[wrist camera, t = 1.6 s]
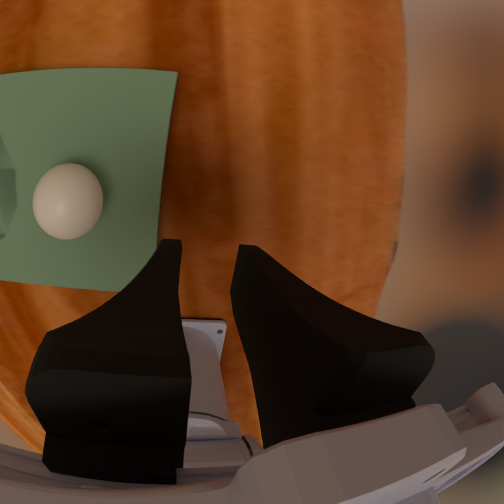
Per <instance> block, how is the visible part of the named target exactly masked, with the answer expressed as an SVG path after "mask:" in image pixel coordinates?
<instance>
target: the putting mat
mask: <svg viewBox="0 0 504 504" xmlns="http://www.w3.org/2000/svg"><path fill="white" fill-rule="evenodd" d="M177 79H178V72H172V71H161V70H148V69H129V68H67V69H49V70H37V71H26V72H17V73H10V74H2V75H0V280H5V281H13V282H21V283H29V284H38V285H48V286H57V287H67V288H78V289H89V290H100V291H113V292H120V291H121V290H122V289H123V288H124V287H125V286H127V285H128V284H129V283H130V282H131V281H132V280H133V278H134V277H135V276H136V275H137V274H138V273H139V272H140V271H141V269H142V268H143V267H144V266H145V265H146V263H147V262H148V260H149V259H150V258H151V256H152V255H153V253H154V252H155V250H156V249H157V239H158V225H159V213H160V201H161V191H162V182H163V173H164V164H165V156H166V148H167V141H168V134H169V127H170V120H171V114H172V108H173V101H174V96H175V90H176V84H177ZM65 163H75V164H79V165H82V166H84V167H86V168H87V169H89V170H90V171H91V172H92V173H93V174H94V175H95V176H96V177H97V179H98V181H99V183H100V185H101V188H102V192H103V207H102V211H101V214H100V217H99V219H98V221H97V222H96V224H95V225H94V226H93V227H92V229H91V230H89V231H88V232H87V233H86V234H84V235H82V236H80V237H78V238H75V239H69V240H63V239H58V238H55V237H52V236H51V235H49V234H47V233H46V232H45V231H44V230H43V229H42V228H41V227H40V225H39V224H38V222H37V220H36V218H35V216H34V212H33V195H34V191H35V188H36V185H37V184H38V182H39V180H40V179H41V177H42V176H43V175H44V174H45V173H46V172H47V171H48V170H50V169H51V168H53V167H55V166H57V165H60V164H65Z"/></svg>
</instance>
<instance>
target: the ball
mask: <svg viewBox="0 0 504 504" xmlns="http://www.w3.org/2000/svg"><path fill="white" fill-rule="evenodd" d="M102 207H103V192H102V188H101V185H100V183H99V181H98V179H97V177H96V176H95V175H94V174H93V173H92V172H91V171H90V170H89V169H87V168H86V167H84V166H82V165H79V164H75V163H65V164H60V165H57V166H55V167H53V168H51V169H50V170H48V171H47V172H46V173H45V174H44V175H43V176H42V177H41V179H40V180H39V182H38V184H37V185H36V188H35V191H34V195H33V212H34V216H35V218H36V220H37V222H38V224H39V225H40V227H41V228H42V229H43V230H44V231H45V232H46V233H47V234H49V235H51V236H52V237H55V238H58V239H63V240H69V239H75V238H78V237H80V236H82V235H84V234H86V233H87V232H88V231H89V230H91V229H92V227H93V226H94V225H95V224H96V222H97V221H98V219H99V217H100V214H101V211H102Z"/></svg>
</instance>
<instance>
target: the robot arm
mask: <svg viewBox="0 0 504 504" xmlns="http://www.w3.org/2000/svg"><path fill="white" fill-rule="evenodd" d="M181 254H182V242H181V240H176V239H162V240H161V241H160V243H159V245H158V247H157V249H156V250H155V252H154V253H153V255H152V256H151V258H150V259H149V260H148V262H147V263H146V265H145V266H144V267H143V268H142V269H141V271H140V272H139V273H138V274H137V275H136V276H135V277H134V278H133V280H132V281H131V282H130V283H129V284H128V285H127V286H125V287H124V288H123V289H122V290H121V291H120V292H119V293H118V294H116V295H115V296H114V297H113V298H111V299H110V300H109V301H107V302H106V303H104V304H103V305H102V306H100V307H99V308H97V309H95V310H94V311H92V312H90V313H88V314H87V315H85V316H83V317H81V318H79V319H77V320H75V321H73V322H71V323H68V324H66V325H64V326H61V327H59V328H57V329H54V330H52V331H49V332H47V333H46V335H45V337H44V339H43V341H42V342H41V344H40V346H39V348H38V350H37V352H36V354H35V357H34V359H33V362H32V365H31V369H30V372H29V375H28V378H27V382H26V387H25V394H26V397H27V400H28V403H29V404H30V406H31V408H32V410H33V411H34V413H35V415H36V417H37V418H38V420H39V422H40V423H41V425H42V427H43V428H44V430H45V431H46V436H45V442H44V449H43V454H39V453H35V452H30V451H26V450H23V449H19V448H15V447H11V446H8V445H4V444H1V443H0V504H441V502H440V500H439V498H438V496H437V493H439V492H441V491H442V490H444V489H446V488H447V487H449V486H450V485H452V484H454V483H455V482H456V481H458V480H459V479H461V478H463V477H464V476H466V475H467V474H468V473H470V472H471V471H473V470H474V469H476V468H477V467H478V466H480V465H481V464H482V463H484V462H485V461H486V460H488V459H489V458H490V457H491V456H492V455H493V454H495V453H496V452H497V451H498V450H499V449H501V448H502V447H503V446H504V395H503V393H502V392H501V390H500V389H499V388H498V387H497V385H496V384H495V383H491V384H489V385H487V386H485V387H483V388H481V389H479V390H478V391H477V392H475V393H474V394H473V395H472V396H471V397H470V399H469V400H468V401H467V402H466V405H463V406H461V407H459V408H457V409H455V410H452V411H450V412H448V413H445V411H444V410H443V408H442V407H441V405H440V404H429V405H421V406H418V407H415V402H414V401H413V399H412V397H411V396H412V395H413V393H414V392H415V391H416V390H417V388H418V387H419V386H420V384H421V383H422V382H423V381H424V379H425V378H426V376H427V375H428V374H429V372H430V370H431V369H432V366H433V364H434V361H435V351H434V349H433V348H432V346H431V345H430V344H429V343H428V341H427V340H426V339H425V337H424V336H423V335H422V334H421V333H420V332H417V331H413V330H409V329H405V328H402V327H398V326H394V325H391V324H388V323H385V322H382V321H379V320H376V319H373V318H371V317H368V316H366V315H363V314H361V313H359V312H356V311H354V310H352V309H350V308H348V307H346V306H343V305H342V304H340V303H338V302H336V301H334V300H332V299H330V298H329V297H327V296H325V295H323V294H322V293H320V292H318V291H317V290H315V289H314V288H312V287H311V286H309V285H308V284H306V283H305V282H303V281H302V280H301V279H299V278H298V277H296V276H295V275H294V274H292V273H291V272H290V271H289V270H287V269H286V268H285V267H283V266H282V265H281V264H280V263H278V262H277V261H276V260H275V259H273V258H272V257H271V256H270V255H269V254H267V253H266V252H265V251H263V250H262V249H261V248H259V247H258V246H255V245H242V244H240V245H239V249H238V254H237V259H236V264H235V269H234V274H233V279H232V284H231V290H230V294H231V302H232V309H233V315H234V319H235V322H236V325H237V329H238V332H239V335H240V339H241V342H242V345H243V348H244V351H245V355H246V358H247V361H248V364H249V368H250V372H251V377H252V382H253V387H254V392H255V398H256V404H257V410H258V415H259V421H260V428H261V435H262V441H263V446H262V445H261V444H260V443H259V442H258V441H257V440H256V439H255V438H254V437H253V436H251V435H242V434H241V430H240V426H239V423H238V422H231V418H230V413H229V408H228V404H227V399H226V394H225V389H224V384H223V379H222V374H221V369H220V359H221V354H222V349H223V343H224V338H225V333H226V328H227V325H226V322H225V321H222V320H194V319H181V313H180V305H179V295H178V286H179V275H180V264H181ZM218 330H221V331H218Z"/></svg>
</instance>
